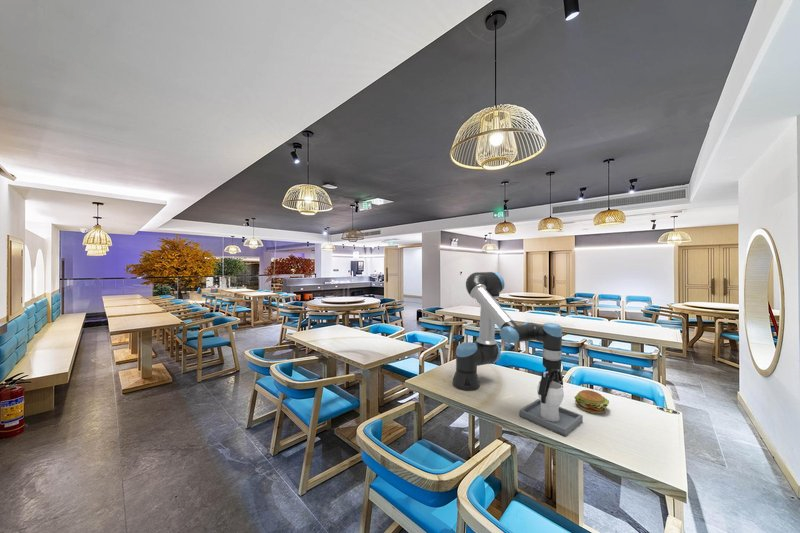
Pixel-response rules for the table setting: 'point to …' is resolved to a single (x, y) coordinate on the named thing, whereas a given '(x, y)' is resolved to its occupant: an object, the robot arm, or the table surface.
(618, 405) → the table surface
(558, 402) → the cup
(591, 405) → the food
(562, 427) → the tray
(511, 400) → the table surface
